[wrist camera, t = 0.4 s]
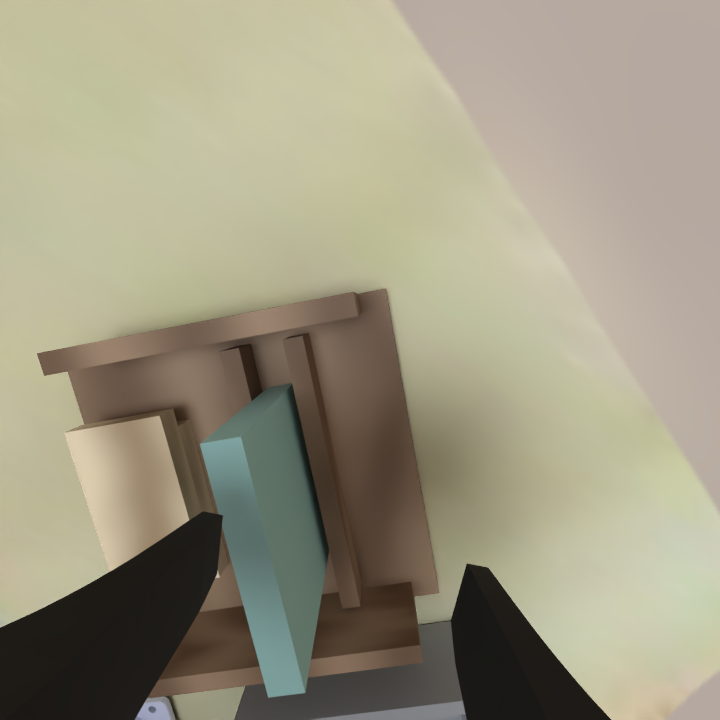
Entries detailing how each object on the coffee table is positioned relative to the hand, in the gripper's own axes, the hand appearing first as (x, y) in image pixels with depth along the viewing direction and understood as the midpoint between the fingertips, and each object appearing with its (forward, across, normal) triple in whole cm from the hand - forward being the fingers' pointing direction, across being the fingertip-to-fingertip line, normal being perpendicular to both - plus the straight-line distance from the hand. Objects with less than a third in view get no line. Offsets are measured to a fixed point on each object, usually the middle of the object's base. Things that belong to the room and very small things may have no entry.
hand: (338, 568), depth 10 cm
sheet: (+10, +3, +3) cm, 10 cm away
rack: (+10, +5, +4) cm, 12 cm away
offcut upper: (+8, +11, +5) cm, 14 cm away
